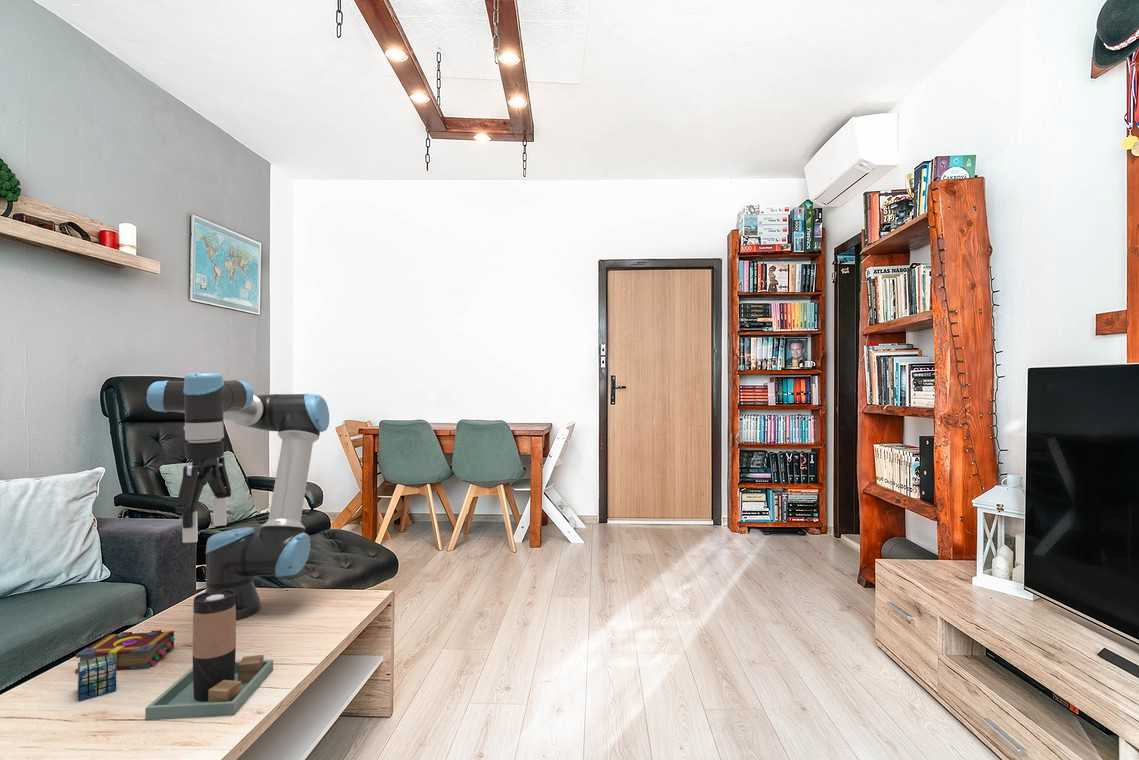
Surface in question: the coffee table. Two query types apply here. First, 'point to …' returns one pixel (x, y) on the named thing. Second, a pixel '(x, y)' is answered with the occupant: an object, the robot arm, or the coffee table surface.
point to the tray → (183, 704)
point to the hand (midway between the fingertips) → (205, 533)
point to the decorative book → (131, 649)
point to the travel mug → (213, 640)
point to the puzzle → (96, 677)
